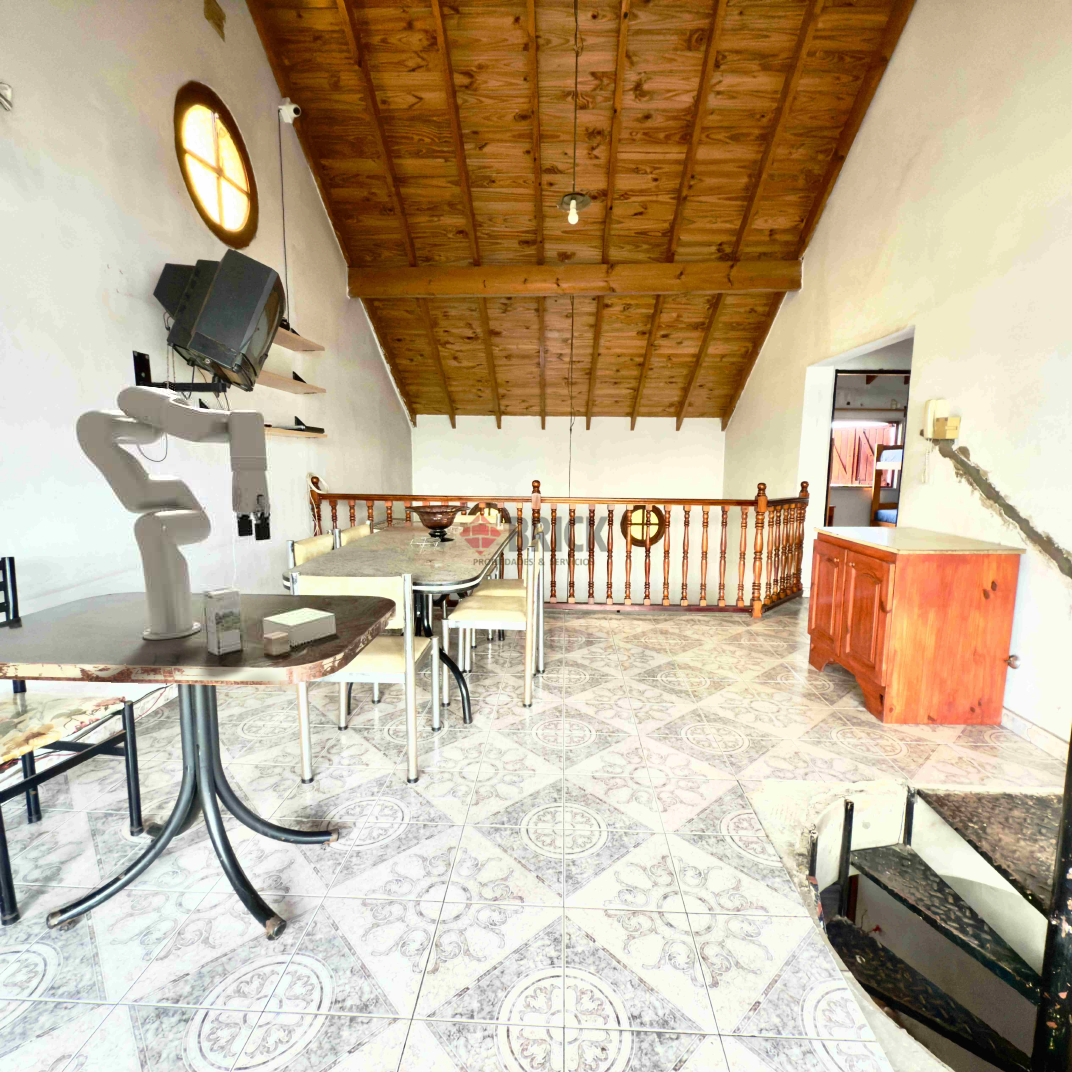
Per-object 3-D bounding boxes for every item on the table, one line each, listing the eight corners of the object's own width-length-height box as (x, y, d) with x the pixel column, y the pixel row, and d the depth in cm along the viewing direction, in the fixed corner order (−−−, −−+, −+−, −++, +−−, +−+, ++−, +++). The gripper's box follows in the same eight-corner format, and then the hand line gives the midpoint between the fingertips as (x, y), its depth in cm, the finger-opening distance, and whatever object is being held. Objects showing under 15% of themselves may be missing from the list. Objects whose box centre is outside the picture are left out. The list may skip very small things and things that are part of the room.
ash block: (264, 652, 130) (262, 635, 129) (280, 647, 133) (278, 631, 132) (274, 655, 128) (272, 638, 127) (290, 650, 131) (288, 634, 130)
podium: (264, 638, 140) (262, 618, 139) (307, 625, 150) (305, 607, 149) (292, 646, 134) (291, 625, 133) (335, 633, 143) (334, 613, 143)
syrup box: (233, 644, 135) (227, 585, 133) (244, 649, 132) (238, 589, 130) (207, 651, 131) (201, 590, 129) (218, 656, 127) (212, 593, 125)
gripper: (217, 464, 134) (223, 536, 136) (247, 465, 122) (253, 543, 125) (250, 464, 139) (255, 533, 142) (282, 465, 128) (286, 539, 130)
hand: (254, 537), depth 133 cm, fingers open, 9 cm apart
